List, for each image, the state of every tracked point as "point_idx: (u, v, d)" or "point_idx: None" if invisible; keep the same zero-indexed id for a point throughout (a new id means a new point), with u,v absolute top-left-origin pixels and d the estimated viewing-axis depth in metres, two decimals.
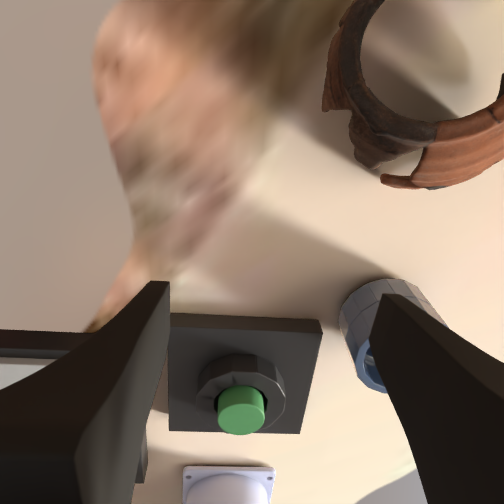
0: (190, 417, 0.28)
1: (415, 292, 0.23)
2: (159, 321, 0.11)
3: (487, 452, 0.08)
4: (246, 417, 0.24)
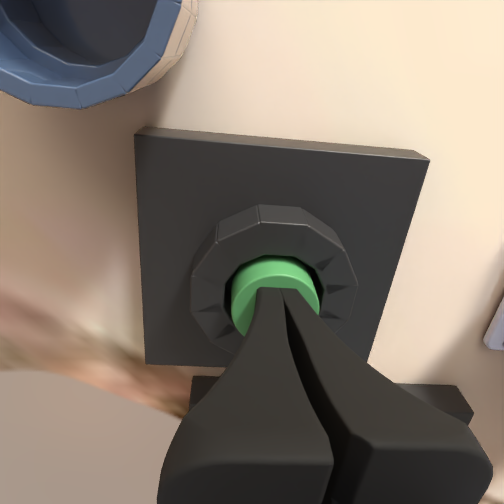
0: None
1: None
2: None
3: None
4: None
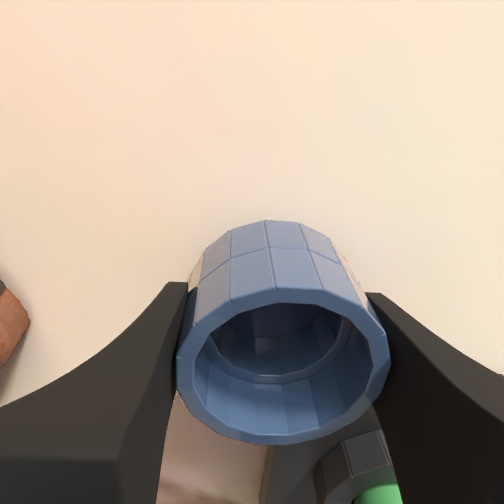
0: None
1: (192, 285, 0.12)
2: (180, 322, 0.11)
3: (456, 452, 0.08)
4: None
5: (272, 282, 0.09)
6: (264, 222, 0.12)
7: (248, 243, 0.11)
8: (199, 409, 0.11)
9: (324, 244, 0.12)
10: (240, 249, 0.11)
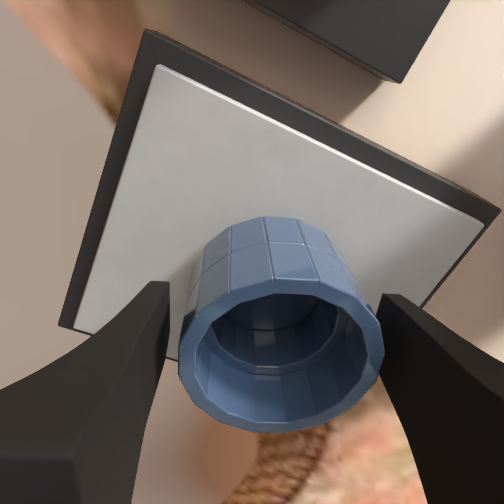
0: (389, 7, 0.11)
1: (193, 279, 0.12)
2: (159, 321, 0.11)
3: (487, 452, 0.08)
4: None
5: (270, 274, 0.10)
6: (263, 218, 0.13)
7: (248, 238, 0.12)
8: (200, 397, 0.11)
9: (321, 239, 0.12)
10: (240, 243, 0.11)
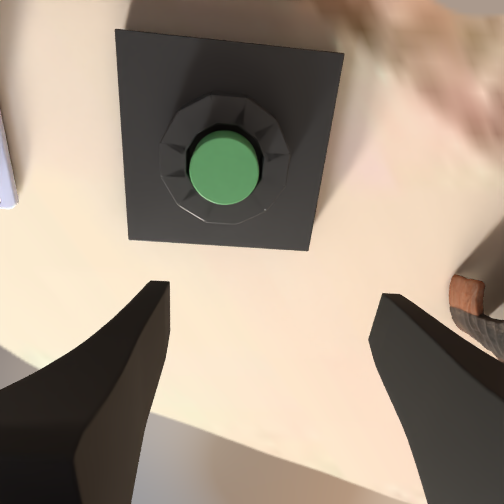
0: (153, 73, 0.17)
1: None
2: (159, 321, 0.11)
3: (487, 452, 0.08)
4: (229, 180, 0.16)
5: None
6: None
7: None
8: None
9: None
10: None
